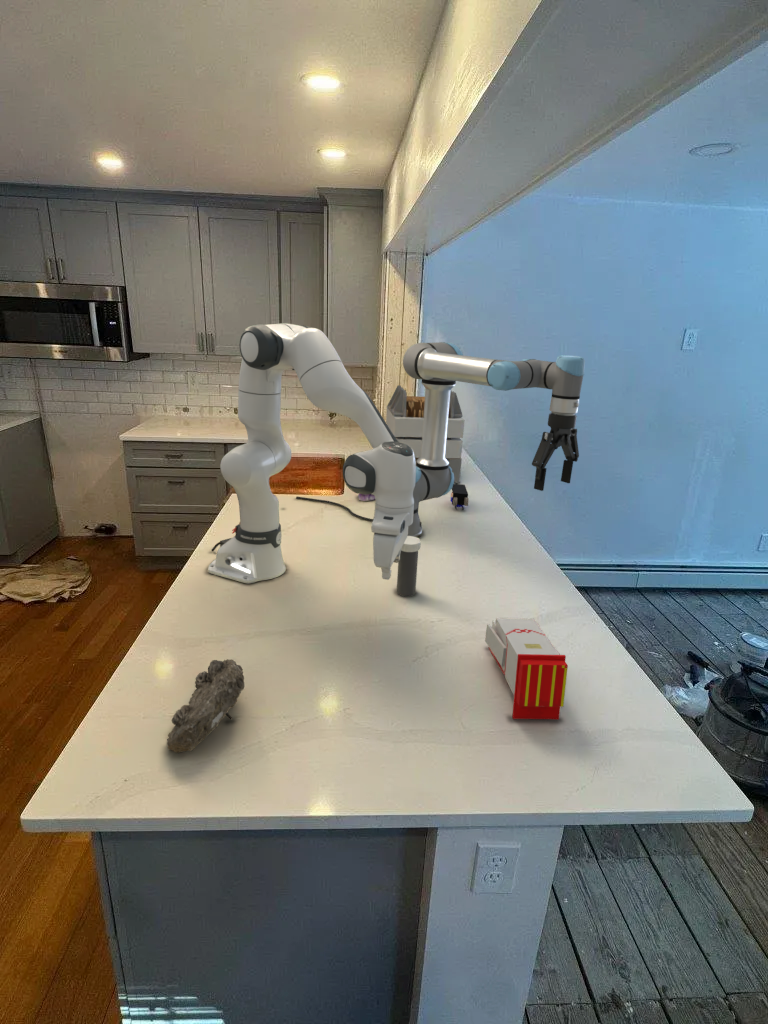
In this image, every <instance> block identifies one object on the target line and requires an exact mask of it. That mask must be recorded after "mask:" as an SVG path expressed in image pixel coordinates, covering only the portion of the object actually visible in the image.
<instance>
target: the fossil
mask: <svg viewBox="0 0 768 1024" xmlns="http://www.w3.org/2000/svg"><path fill="white" fill-rule="evenodd" d="M243 670H244V669H243V667H242V665H240V664H237V662H236V661H235V660H234V659H232V658H231V659H227V658H226V659H224V660H223V661H222V660H217V659H212V660H211V661H210V663H209V665H208V666H207V671H201V672H199V673H198V674H197V675H196V676H195V680H194V684H195V685H194V687H195V689H194V690H193V693H192V694H191V697H190V698H189V700H188V704H184V705H182V706H181V707H180V709H177V710H176V711H175V713H174V715H173V716H172V718H171V723H172V724H173V727H172V730H171V731H170V732H168V734H167V738H166V741H167V742H166V745H167V749H168V750H169V751H173V752H174V753H176V754H178V753H182V752H188V751H189V752H192V751H193V750H195V748H196V747H197V746H199V744H200V743H201V742H203V741H204V740H205V739H206V738H207V737H208V736H209V735H210V734H211V733H212V732H214V730H215V729H217V727H218V726H219V724H220V722H221V721H222V720H223V719H224V718H225V716H226V717H227V719H229V720H233V717H232V715H230V714H229V710H230V709H231V708H234V706H235V704H236V703H237V702H238V699H239V697H240V695H241V693H242V691H243V690H245V689H244V688H245V675H244V671H243Z"/></svg>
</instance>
